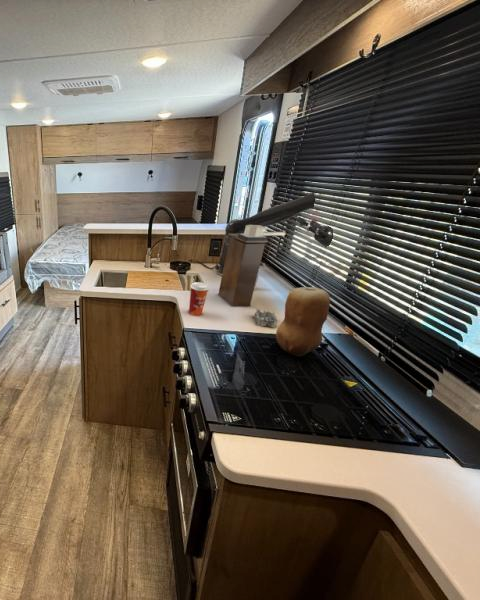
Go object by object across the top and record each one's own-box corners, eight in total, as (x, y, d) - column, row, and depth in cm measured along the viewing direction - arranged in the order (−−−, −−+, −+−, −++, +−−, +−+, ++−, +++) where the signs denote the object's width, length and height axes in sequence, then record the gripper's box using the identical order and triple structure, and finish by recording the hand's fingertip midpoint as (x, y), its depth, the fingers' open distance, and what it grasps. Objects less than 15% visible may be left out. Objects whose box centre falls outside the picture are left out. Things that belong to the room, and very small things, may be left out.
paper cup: (195, 318, 136) (200, 289, 131) (183, 311, 142) (187, 283, 137) (208, 314, 139) (213, 285, 134) (195, 308, 146) (199, 280, 140)
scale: (237, 237, 141) (238, 233, 141) (258, 236, 142) (259, 233, 141) (246, 240, 134) (247, 237, 133) (269, 240, 134) (270, 236, 134)
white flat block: (288, 236, 134) (291, 227, 133) (249, 236, 134) (251, 227, 132) (278, 233, 141) (281, 224, 139) (241, 233, 140) (242, 224, 139)
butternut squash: (274, 339, 120) (291, 278, 109) (316, 350, 112) (338, 286, 102) (269, 355, 109) (288, 290, 99) (315, 368, 102) (340, 300, 92)
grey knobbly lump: (252, 315, 139) (254, 307, 137) (271, 317, 136) (274, 309, 135) (257, 325, 129) (259, 317, 128) (277, 328, 127) (279, 319, 125)
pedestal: (216, 294, 161) (228, 233, 149) (235, 293, 162) (248, 233, 149) (231, 306, 147) (245, 240, 134) (251, 306, 147) (268, 240, 134)
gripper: (323, 228, 147) (299, 210, 143) (348, 234, 134) (322, 215, 130) (311, 241, 149) (288, 224, 146) (334, 248, 136) (309, 230, 133)
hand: (304, 220), depth 138 cm, fingers open, 8 cm apart
